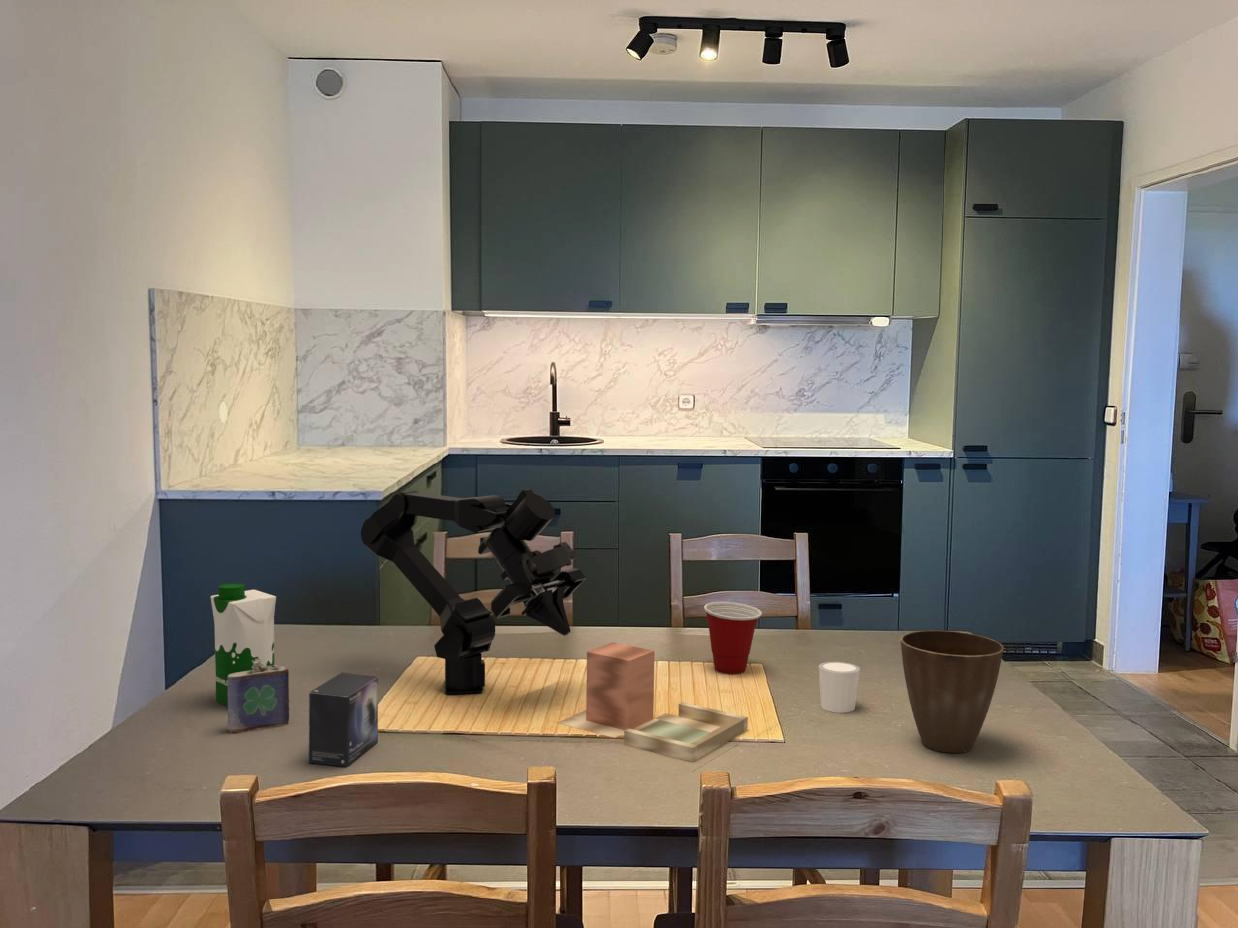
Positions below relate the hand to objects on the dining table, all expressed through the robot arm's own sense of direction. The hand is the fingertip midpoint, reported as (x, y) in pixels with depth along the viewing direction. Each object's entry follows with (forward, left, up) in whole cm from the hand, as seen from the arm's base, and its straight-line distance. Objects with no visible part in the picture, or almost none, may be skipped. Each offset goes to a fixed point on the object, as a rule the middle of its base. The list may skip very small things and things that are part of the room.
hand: (567, 633), depth 172 cm
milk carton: (-52, +14, -14) cm, 56 cm away
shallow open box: (+11, -11, -14) cm, 21 cm away
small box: (-34, -12, -14) cm, 39 cm away
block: (+7, -7, -12) cm, 16 cm away
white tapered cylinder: (+46, -2, -14) cm, 48 cm away
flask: (-48, +1, -14) cm, 50 cm away
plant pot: (+56, -21, -14) cm, 61 cm away
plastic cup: (+34, +21, -14) cm, 42 cm away
